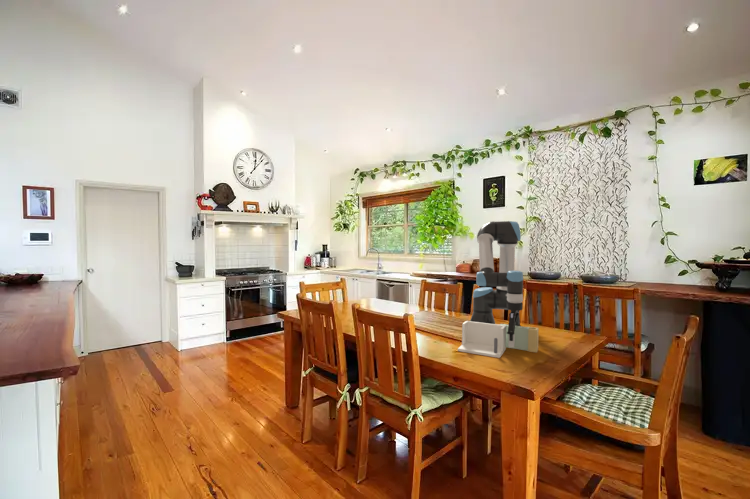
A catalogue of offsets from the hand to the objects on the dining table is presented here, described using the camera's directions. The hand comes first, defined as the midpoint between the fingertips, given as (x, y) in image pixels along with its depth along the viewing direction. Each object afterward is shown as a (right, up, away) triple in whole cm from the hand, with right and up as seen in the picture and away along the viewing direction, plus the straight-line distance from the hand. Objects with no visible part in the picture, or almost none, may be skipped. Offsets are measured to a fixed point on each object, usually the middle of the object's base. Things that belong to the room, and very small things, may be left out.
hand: (513, 343), depth 185 cm
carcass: (-17, -2, -4) cm, 18 cm away
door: (+2, -2, -1) cm, 3 cm away
